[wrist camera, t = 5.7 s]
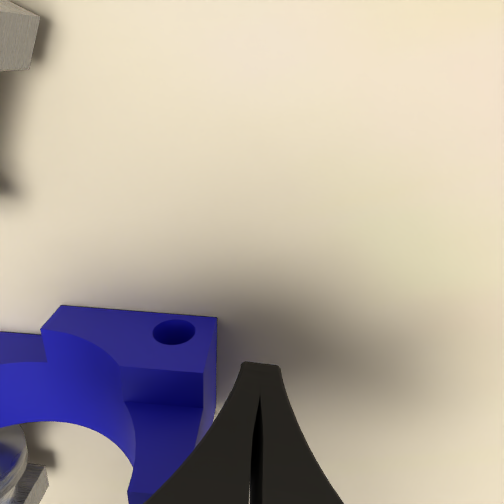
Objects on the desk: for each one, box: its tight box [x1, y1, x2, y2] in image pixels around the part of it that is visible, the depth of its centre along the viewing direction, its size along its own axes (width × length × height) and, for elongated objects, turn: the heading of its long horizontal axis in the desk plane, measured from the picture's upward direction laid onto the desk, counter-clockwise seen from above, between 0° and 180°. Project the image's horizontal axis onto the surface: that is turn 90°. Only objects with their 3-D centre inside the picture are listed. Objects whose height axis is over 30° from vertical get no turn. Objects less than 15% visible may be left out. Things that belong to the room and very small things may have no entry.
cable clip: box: [0, 305, 217, 504], centre depth 14 cm, size 12×4×6 cm, turn 87°
